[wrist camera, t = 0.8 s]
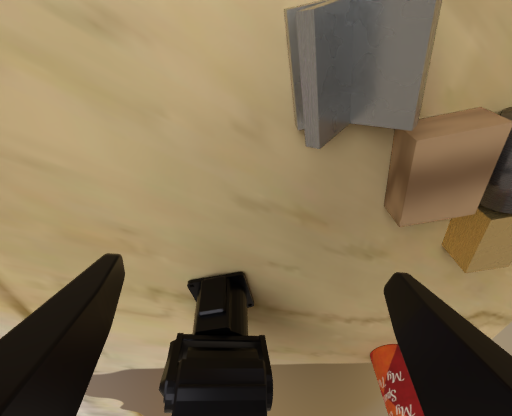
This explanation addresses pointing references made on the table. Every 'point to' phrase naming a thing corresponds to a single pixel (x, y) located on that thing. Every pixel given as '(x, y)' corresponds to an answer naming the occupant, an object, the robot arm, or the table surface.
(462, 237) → the block
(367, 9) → the v block
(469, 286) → the table surface
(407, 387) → the paper cup
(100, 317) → the robot arm
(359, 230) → the table surface
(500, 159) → the dark grey rounded block
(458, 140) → the beam
